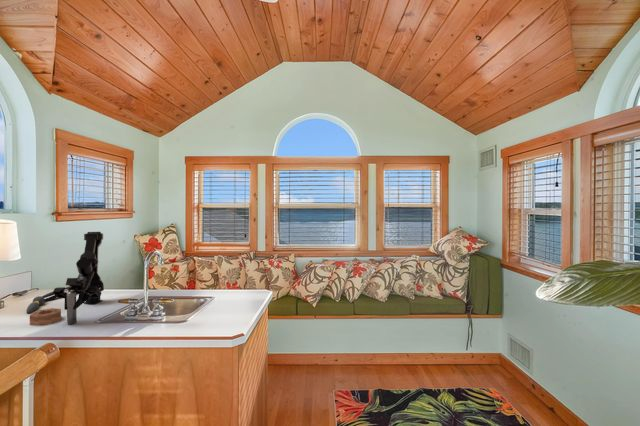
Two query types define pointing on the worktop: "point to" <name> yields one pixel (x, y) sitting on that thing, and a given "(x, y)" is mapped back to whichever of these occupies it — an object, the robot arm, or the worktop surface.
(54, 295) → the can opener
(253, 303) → the worktop surface
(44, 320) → the bead
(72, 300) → the brushed steel cylinder
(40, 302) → the paintbrush
